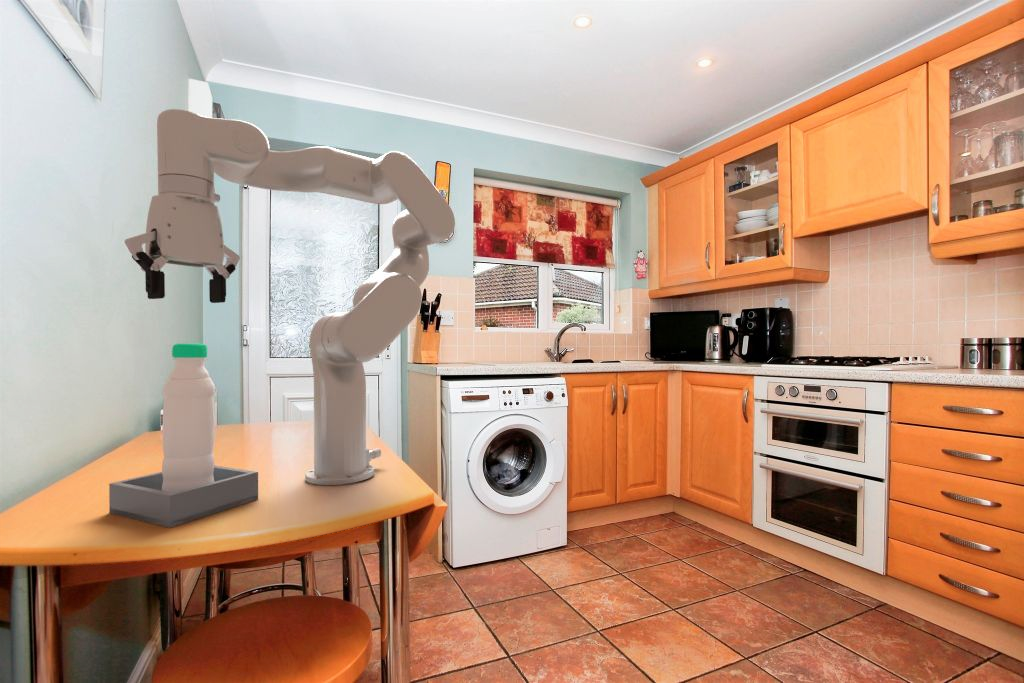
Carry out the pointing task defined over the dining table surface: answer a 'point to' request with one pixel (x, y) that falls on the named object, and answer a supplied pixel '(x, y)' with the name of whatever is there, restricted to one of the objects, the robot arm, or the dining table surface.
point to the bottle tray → (181, 497)
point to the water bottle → (188, 421)
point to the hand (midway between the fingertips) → (188, 300)
